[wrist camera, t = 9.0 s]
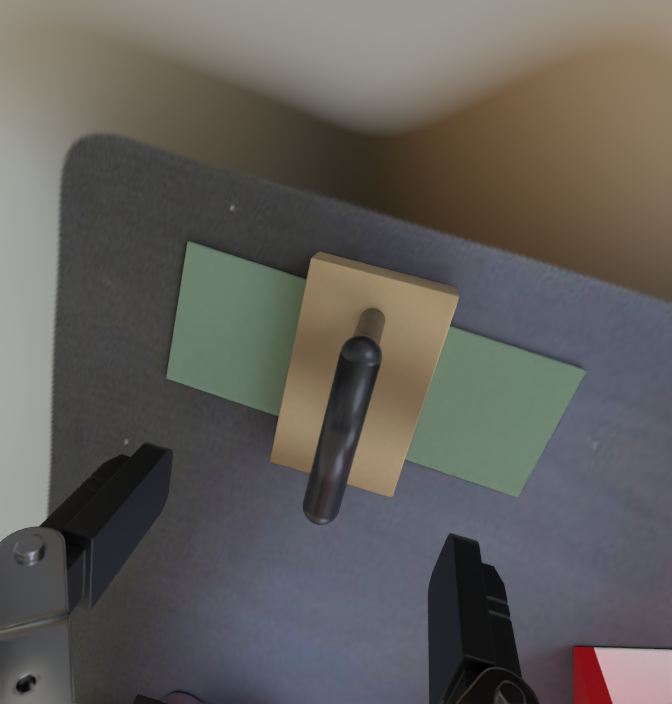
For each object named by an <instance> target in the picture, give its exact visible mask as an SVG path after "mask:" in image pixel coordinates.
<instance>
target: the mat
mask: <svg viewBox="0 0 672 704" xmlns="http://www.w3.org/2000/svg"><path fill="white" fill-rule="evenodd" d="M306 280H307V279H305V278H302V277H298V276H295V275H292V274H289V273H286V272H283V271H280V270H277V269H274V268H271V267H268V266H265V265H261V264H258V263H255V262H252V261H249V260H246V259H243V258H240V257H237V256H234V255H231V254H227V253H224V252H221V251H218V250H215V249H212V248H209V247H206V246H203V245H200V244H197V243H194V242H190V241H189V242H187V249H186V255H185V261H184V268H183V274H182V281H181V287H180V293H179V300H178V306H177V313H176V319H175V325H174V332H173V338H172V345H171V351H170V357H169V364H168V370H167V376H166V378H167V379H170V380H173V381H176V382H179V383H182V384H185V385H187V386H190V387H193V388H196V389H199V390H202V391H205V392H208V393H211V394H214V395H217V396H220V397H223V398H226V399H229V400H232V401H235V402H238V403H240V404H243V405H246V406H249V407H252V408H255V409H258V410H261V411H264V412H267V413H270V414H273V415H276V416H279V413H280V408H281V403H282V398H283V393H284V388H285V383H286V378H287V373H288V368H289V363H290V358H291V354H292V349H293V344H294V339H295V334H296V329H297V324H298V319H299V314H300V309H301V304H302V299H303V294H304V290H305V285H306ZM585 373H586V370H585V369H582V368H579V367H576V366H573V365H570V364H567V363H564V362H561V361H558V360H555V359H552V358H548V357H545V356H542V355H539V354H536V353H533V352H530V351H527V350H524V349H521V348H518V347H515V346H511V345H508V344H505V343H502V342H499V341H496V340H493V339H490V338H487V337H484V336H481V335H477V334H474V333H471V332H468V331H465V330H462V329H459V328H456V327H453V326H450V327H449V330H448V333H447V336H446V339H445V342H444V345H443V348H442V351H441V353H440V356H439V359H438V362H437V365H436V368H435V371H434V374H433V377H432V380H431V383H430V386H429V389H428V392H427V395H426V398H425V401H424V404H423V407H422V410H421V413H420V416H419V419H418V422H417V425H416V428H415V431H414V434H413V437H412V440H411V443H410V446H409V449H408V452H407V455H406V458H405V460H408V461H411V462H414V463H417V464H420V465H423V466H426V467H429V468H432V469H435V470H438V471H441V472H444V473H447V474H449V475H452V476H455V477H458V478H461V479H464V480H467V481H470V482H473V483H476V484H479V485H482V486H485V487H488V488H491V489H494V490H497V491H499V492H502V493H505V494H508V495H511V496H514V497H517V498H518V496H519V494H520V493H521V491H522V489H523V487H524V485H525V483H526V482H527V480H528V478H529V476H530V474H531V472H532V471H533V469H534V467H535V465H536V463H537V461H538V459H539V458H540V456H541V454H542V452H543V450H544V448H545V447H546V445H547V443H548V441H549V439H550V437H551V436H552V434H553V432H554V430H555V428H556V426H557V425H558V423H559V421H560V419H561V417H562V415H563V414H564V412H565V410H566V408H567V406H568V404H569V403H570V401H571V399H572V397H573V395H574V393H575V392H576V390H577V388H578V386H579V384H580V382H581V380H582V379H583V377H584V375H585Z"/></svg>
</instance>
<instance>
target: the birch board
mask: <svg viewBox="0 0 672 704" xmlns="http://www.w3.org/2000/svg"><path fill="white" fill-rule="evenodd" d="M458 300H459V294H458V290H457V287H454V286H450V285H446V284H442V283H438V282H434V281H431V280H427V279H423V278H419V277H415V276H411V275H408V274H404V273H400V272H396V271H392V270H388V269H385V268H381V267H377V266H373V265H369V264H365V263H362V262H358V261H354V260H350V259H346V258H342V257H338V256H335V255H331V254H327V253H323V252H318V253H316V254H315V255H314V256H313V257H312V258H311V260H310V265H309V270H308V275H307V280H306V285H305V290H304V294H303V299H302V304H301V309H300V314H299V319H298V324H297V329H296V334H295V339H294V344H293V349H292V354H291V358H290V363H289V368H288V373H287V378H286V383H285V388H284V393H283V398H282V403H281V408H280V413H279V418H278V423H277V427H276V432H275V437H274V442H273V447H272V452H271V457H270V462H272V463H276V464H279V465H282V466H286V467H289V468H293V469H296V470H299V471H303V472H306V473H310V477H309V481H308V485H307V489H306V493H305V497H304V501H303V511H304V514H305V516H306V517H307V519H308V520H309V521H311V522H312V523H314V524H317V525H325V524H328V523H330V522H332V521H333V520H334V519H335V518H336V516H337V514H338V512H339V509H340V506H341V502H342V499H343V495H344V492H345V488H346V485H350V486H354V487H357V488H361V489H364V490H367V491H371V492H374V493H378V494H381V495H384V496H388V497H393V494H394V491H395V488H396V485H397V482H398V479H399V476H400V473H401V470H402V467H403V464H404V461H405V458H406V455H407V452H408V449H409V446H410V443H411V440H412V437H413V434H414V431H415V428H416V425H417V422H418V419H419V416H420V413H421V410H422V407H423V404H424V401H425V398H426V395H427V392H428V389H429V386H430V383H431V380H432V377H433V374H434V371H435V368H436V365H437V362H438V359H439V356H440V353H441V351H442V348H443V345H444V342H445V339H446V336H447V333H448V330H449V327H450V324H451V321H452V318H453V315H454V312H455V309H456V306H457V303H458Z"/></svg>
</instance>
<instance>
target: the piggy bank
mask: <svg viewBox="0 0 672 704" xmlns="http://www.w3.org/2000/svg"><path fill="white" fill-rule="evenodd" d="M164 703H167V704H201V702H200V701H199V700H197V699H196V698H194V697H193V696H191V695H188V694H185V693H179V692H176V693H172V694H170V695H168V696H167V698H166V699H165V702H164Z"/></svg>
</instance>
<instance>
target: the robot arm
mask: <svg viewBox="0 0 672 704" xmlns="http://www.w3.org/2000/svg"><path fill="white" fill-rule="evenodd" d="M172 459H173V451H172V450H171V449H168V448H165V447H161V446H158V445H155V444H151V443H148V442H146V443H144V444H143V445H142V446H141V447H140V448H139V449H138V450H137V451H136V452H135V453H134V454H133V455H132V456H131V457H129V456H125V455H122V454H121V455H119V456H117V457H115V458H113V459H111V460H109V461H107V462H105V463H103V464H102V465H101V466H100V467H99V468H98V469H97V470H96V471H95V472H94V473H93V474H92V475H91V477H90V478H88V479H87V480H86V481H85V482H84V483H83V484H82V485H81V487H80V488H78V489H77V490H76V491H75V492H74V493H73V494H72V495H71V496H70V497H68V498H67V499H66V500H65V501H64V502H63V503H62V504H61V505H60V506H59V507H58V508H57V509H56V510H55V511H54V512H53V513H52V514H51V515H50V516H49V517H48V518H47V519H46V520H45V521H44V522H43V523H42V524H41V525H40V526H39V527H29V528H25V529H22V530H18V531H16V532H14V533H12V534H10V535H9V536H7V537H6V538H4V539H3V540H2V541H1V542H0V704H75V687H74V669H73V651H72V633H71V617H70V613H71V612H72V610H73V609H74V608H75V606H77V607H80V608H83V609H86V610H89V611H90V610H91V609H92V608H93V606H94V605H95V604H96V602H97V601H98V599H99V598H100V597H101V595H102V594H103V592H104V591H105V590H106V588H107V587H108V585H109V584H110V583H111V581H112V580H113V579H114V577H115V576H116V574H117V573H118V572H119V570H120V569H121V567H122V566H123V565H124V563H125V562H126V560H127V559H128V558H129V556H130V555H131V553H132V552H133V551H134V549H135V548H136V547H137V545H138V544H139V542H140V541H141V540H142V538H143V537H144V535H145V534H146V533H147V531H148V530H149V528H150V527H151V526H152V524H153V523H154V522H155V520H156V519H157V517H158V516H159V515H160V513H161V511H162V510H163V508H164V505H165V503H166V500H167V497H168V493H169V485H170V477H171V468H172ZM428 640H429V704H540V703H539V701H538V699H537V697H536V695H535V693H534V692H533V690H532V689H531V688H530V686H529V685H528V684H527V683H526V682H525V681H524V680H523V679H522V675H521V670H520V665H519V660H518V654H517V649H516V644H515V639H514V633H513V628H512V623H511V620H510V612H509V607H508V605H507V596H506V591H505V586H504V583H503V581H502V580H501V578H500V576H499V575H498V573H497V571H496V570H495V568H494V566H491V565H488V564H484V563H482V561H481V554H480V547H479V543H478V541H476V540H473V539H469V538H466V537H462V536H459V535H456V534H452V533H450V534H449V535H448V537H447V539H446V541H445V544H444V546H443V548H442V551H441V553H440V555H439V558H438V560H437V563H436V565H435V567H434V570H433V572H432V575H431V579H430V583H429V589H428ZM133 704H167V703H164V702H161V701H158V700H155V699H152V698H149V697H145V696H142V695H139V694H137V696H136V698H135V700H134V702H133Z"/></svg>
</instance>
